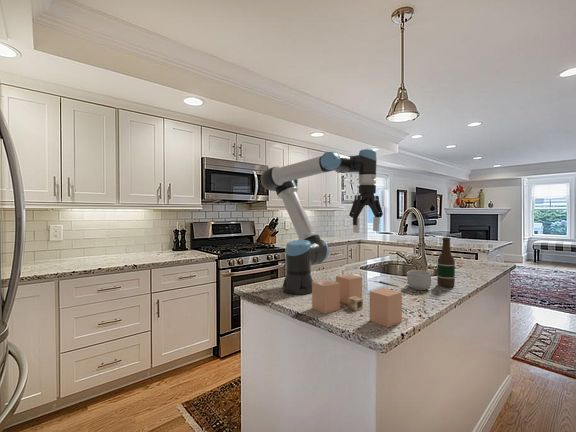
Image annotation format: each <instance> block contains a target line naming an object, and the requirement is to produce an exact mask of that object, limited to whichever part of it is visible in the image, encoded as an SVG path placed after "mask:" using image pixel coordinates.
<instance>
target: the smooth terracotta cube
mask: <svg viewBox="0 0 576 432" xmlns="http://www.w3.org/2000/svg"><path fill="white" fill-rule="evenodd" d="M360 276H361V275H360ZM360 276H356V275H353V274H351V273H346V274H341V275H336V276H335V282H338V283H340V303H343V304H346V305H348V298H350V297H354V296H356V297H359V298H362V299H363V278H362V277H363V276H362V277H360Z"/></svg>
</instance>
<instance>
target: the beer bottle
mask: <svg viewBox="0 0 576 432" xmlns="http://www.w3.org/2000/svg"><path fill="white" fill-rule="evenodd" d="M441 241H442V246H441V254H439V256H438V258H437V266H436V267H437V270H436V271H437V272H436V273H437V274H436V275H437V279H436V281H437V286H439V287H440V288H447V289H448V288H454V287H455V280H456V272H455V271H456V269H455V268H456V261H455V258H454V256H453V254H452V252H451V238H450V237H449V236H448V237H445V236H444V237H442V238H441Z"/></svg>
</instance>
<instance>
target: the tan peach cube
mask: <svg viewBox="0 0 576 432" xmlns="http://www.w3.org/2000/svg"><path fill="white" fill-rule="evenodd" d="M402 310H403V292H401V291H398V290H394V289H389V288H385V287H381V288H377V289H373V290H370V291H369V313H368V314H369V316H368V317H369V321H370V322H373V323H376V324H377V325H380V326H383V327H386V328H390V327H392V326H395V325H398V324H401V323H402V322H403V320H402V318H403V315H402V314H403V313H402Z"/></svg>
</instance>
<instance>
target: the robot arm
mask: <svg viewBox="0 0 576 432" xmlns="http://www.w3.org/2000/svg"><path fill="white" fill-rule="evenodd" d="M377 161H378V160H377V151H376V150H375V149H374V148H373V149H371V148H370V149H369V148H367V149H366V148H364V149H360V150H359V152H358V155H345V154H341V153H338V152H336V151H326V152H323V154H322V155H320V156H316V157H313V158H309V159H306V160H302V161H299V162H298V161H297V162H295V163H291V164H287V165H284V166H281V167H280V166H272V167H270V168H266V169H265V170H264V171H263V172H262V173H261V176H260V182H261V185H262V187H263V188H265V190H268V191H270V192H276V195H277V197H278V198H279V199H281V200H282V202H283V205H284V207H285V209H286V211H287V214H288V216H289V219H290V221H291V224H292V225H293V226H292V227H294V230H295V233H296V236H297V237H298V239H297V240H291V241H289V242H287V244H286V245H285V270H286V271H285V277H284V281H283V284H282V292H284V293H285V294H289V295H309V294H312V282H314V280H313V277H312V274H311V270H312V269H311V267H312V266H313V265H317V264H321V263H323V262H325V261H326V260H327V258H329V254H330V253H329V252H330V249H329V245H328V243H327V242H326V241H324V240H322V239H321V236H320V235H319V234H318V233H317V232H315V230H314V229H313V228H314V227H313V226H312V224H311V221H310V219H309V218H308V215H307V213H306V211H305V209H304V206H303V204H302V202H301V199H300V198H299V194H298V190H299V188H298V183H299V180H300V179H305V178H309V177H311V176H315V175H320V174H324V173H329V172H333V171H335V173H338V174H347V173H358V184H359V186H358V194H355V195H354V199H353V203H352V206H351V209H350V212H349V214H348V216H349V217H350V218H352V225H353V227H352V228H353V230H352V231H353V233H354V234H355V233H356V234H360V217H359V216H360V214H361V213H362V211H363V209H364V208H365V207H366V206H368V207H369V208H370V210H371V212H372V213H373V215H374V216H373V217H372V219H373V220H372V221H373V223H372V224H373V225H372V231H373V232H379V230H380V221H381V220H380V219H381V218H382V217H383V215H384V213H383V209H382V207H381V202H380V196H379V195H375V194H376V192H377V186H376V183H377Z"/></svg>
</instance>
